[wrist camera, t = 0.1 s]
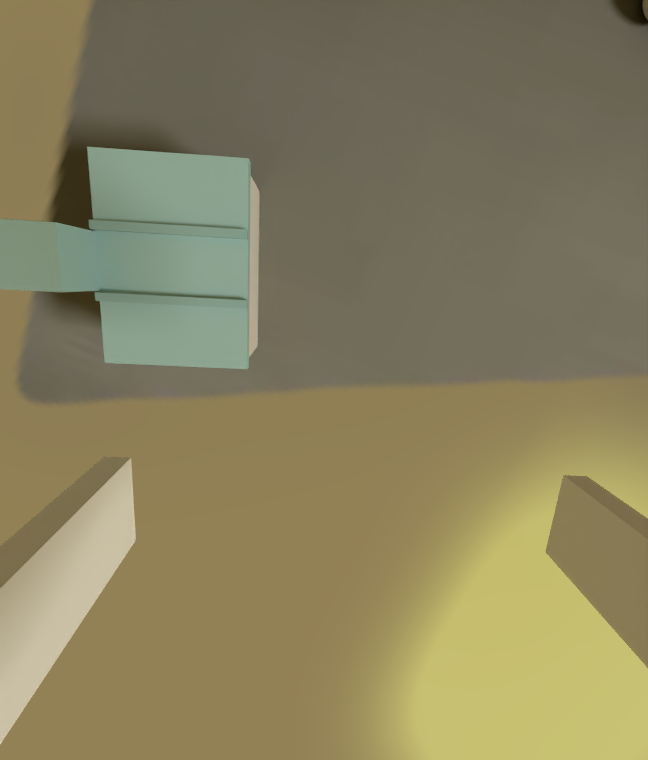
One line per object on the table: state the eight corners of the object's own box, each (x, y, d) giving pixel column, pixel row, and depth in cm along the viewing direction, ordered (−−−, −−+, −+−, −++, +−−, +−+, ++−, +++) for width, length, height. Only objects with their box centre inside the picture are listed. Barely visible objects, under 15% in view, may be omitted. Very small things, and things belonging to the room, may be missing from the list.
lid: (31, 150, 27) (-47, 112, 21) (252, 166, 28) (237, 134, 22) (55, 355, 31) (-7, 373, 25) (250, 364, 32) (236, 383, 26)
